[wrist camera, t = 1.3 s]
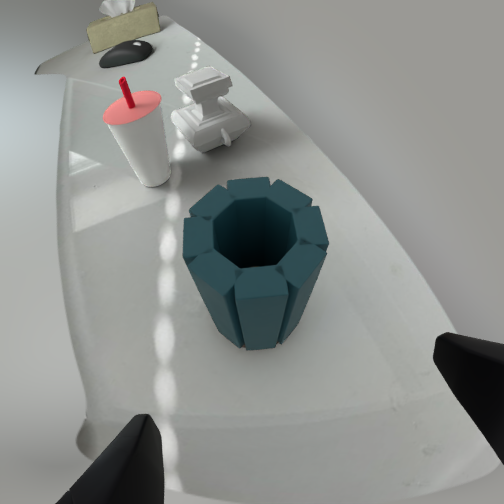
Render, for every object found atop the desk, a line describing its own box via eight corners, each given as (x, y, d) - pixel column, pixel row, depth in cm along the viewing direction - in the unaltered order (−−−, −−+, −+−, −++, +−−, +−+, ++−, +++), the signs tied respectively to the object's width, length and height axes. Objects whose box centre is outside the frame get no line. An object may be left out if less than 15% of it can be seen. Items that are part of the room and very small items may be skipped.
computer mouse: (108, 58, 50) (104, 44, 47) (156, 48, 50) (152, 33, 47) (94, 72, 47) (89, 57, 43) (144, 61, 46) (140, 45, 43)
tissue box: (92, 54, 54) (78, 5, 41) (95, 45, 59) (82, 1, 45) (161, 31, 57) (153, -20, 44) (157, 24, 62) (150, -21, 48)
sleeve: (304, 344, 20) (340, 288, 11) (217, 353, 20) (181, 304, 11) (291, 267, 23) (309, 173, 14) (213, 274, 22) (185, 184, 14)
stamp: (258, 147, 31) (256, 80, 24) (203, 172, 29) (189, 103, 22) (218, 112, 35) (211, 54, 27) (170, 131, 33) (156, 73, 26)
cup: (157, 201, 28) (117, 97, 17) (122, 184, 29) (80, 91, 19) (190, 166, 30) (167, 64, 19) (154, 153, 31) (126, 61, 21)
